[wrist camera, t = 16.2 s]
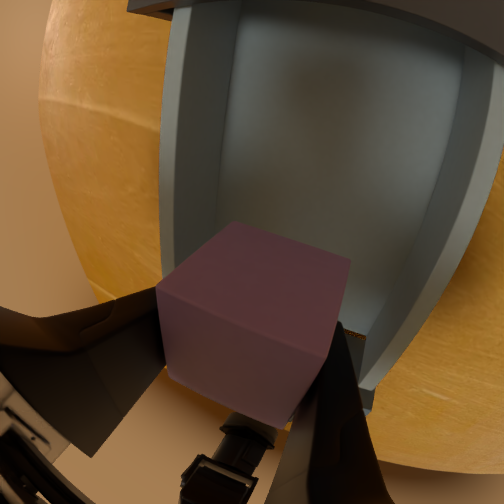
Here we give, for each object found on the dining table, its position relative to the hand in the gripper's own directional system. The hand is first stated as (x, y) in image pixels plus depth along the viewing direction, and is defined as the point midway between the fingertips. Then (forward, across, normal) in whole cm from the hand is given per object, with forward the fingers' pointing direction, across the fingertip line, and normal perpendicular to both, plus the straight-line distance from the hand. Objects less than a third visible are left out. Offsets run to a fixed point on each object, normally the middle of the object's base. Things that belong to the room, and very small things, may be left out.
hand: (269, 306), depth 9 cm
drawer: (+6, 0, 0) cm, 6 cm away
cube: (+1, 0, 0) cm, 1 cm away
